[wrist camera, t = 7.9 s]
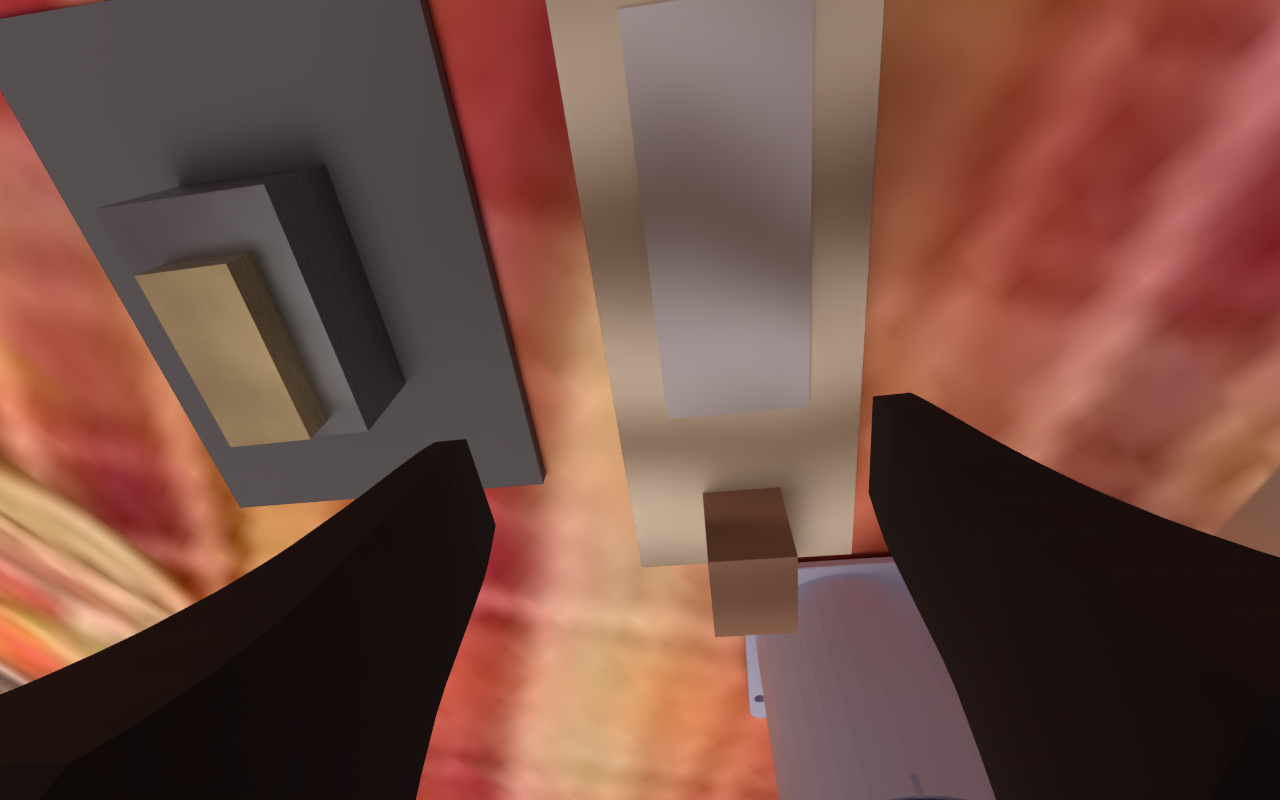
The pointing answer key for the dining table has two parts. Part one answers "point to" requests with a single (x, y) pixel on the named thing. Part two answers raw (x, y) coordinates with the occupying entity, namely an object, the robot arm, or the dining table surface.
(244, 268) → the lever cap
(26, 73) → the rubber mat
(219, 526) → the dining table surface
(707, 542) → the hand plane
